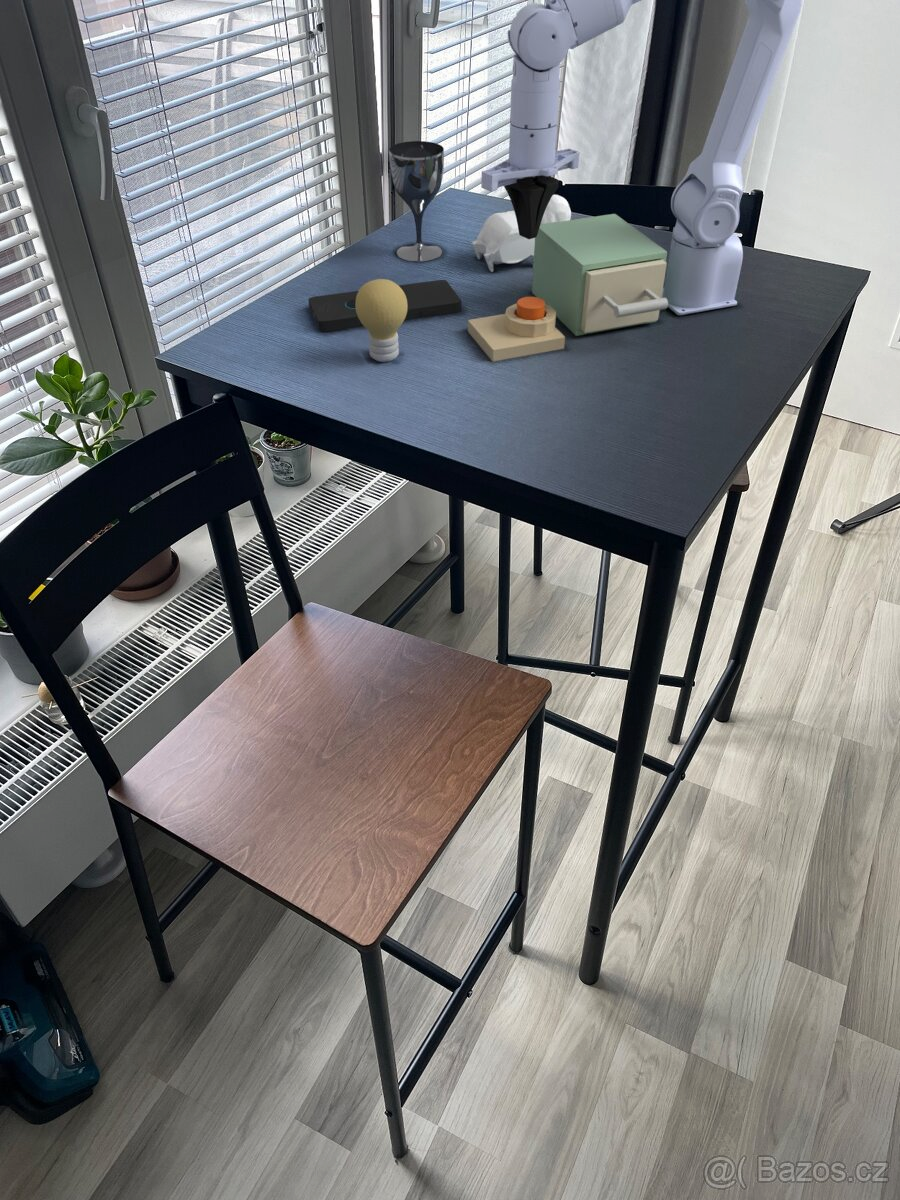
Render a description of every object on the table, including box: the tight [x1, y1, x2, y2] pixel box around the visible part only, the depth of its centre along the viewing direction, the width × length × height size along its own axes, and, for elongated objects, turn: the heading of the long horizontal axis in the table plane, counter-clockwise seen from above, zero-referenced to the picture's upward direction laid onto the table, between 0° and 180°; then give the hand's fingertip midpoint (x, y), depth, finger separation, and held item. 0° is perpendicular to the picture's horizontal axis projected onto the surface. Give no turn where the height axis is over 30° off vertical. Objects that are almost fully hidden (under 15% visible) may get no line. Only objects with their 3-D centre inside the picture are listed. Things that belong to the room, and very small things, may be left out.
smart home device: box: [308, 279, 462, 333], centre depth 127 cm, size 8×2×20 cm
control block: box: [467, 303, 566, 362], centre depth 120 cm, size 10×9×4 cm
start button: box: [516, 296, 545, 320], centre depth 118 cm, size 4×4×2 cm
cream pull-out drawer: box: [581, 260, 668, 333], centre depth 122 cm, size 18×11×8 cm, turn 20°
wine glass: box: [388, 140, 445, 263], centre depth 138 cm, size 8×8×15 cm
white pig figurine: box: [471, 194, 572, 273], centre depth 138 cm, size 9×8×15 cm
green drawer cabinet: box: [531, 213, 668, 337], centre depth 125 cm, size 15×12×10 cm
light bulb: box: [355, 278, 408, 363], centre depth 114 cm, size 6×6×10 cm
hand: (527, 236), depth 120 cm, fingers closed
